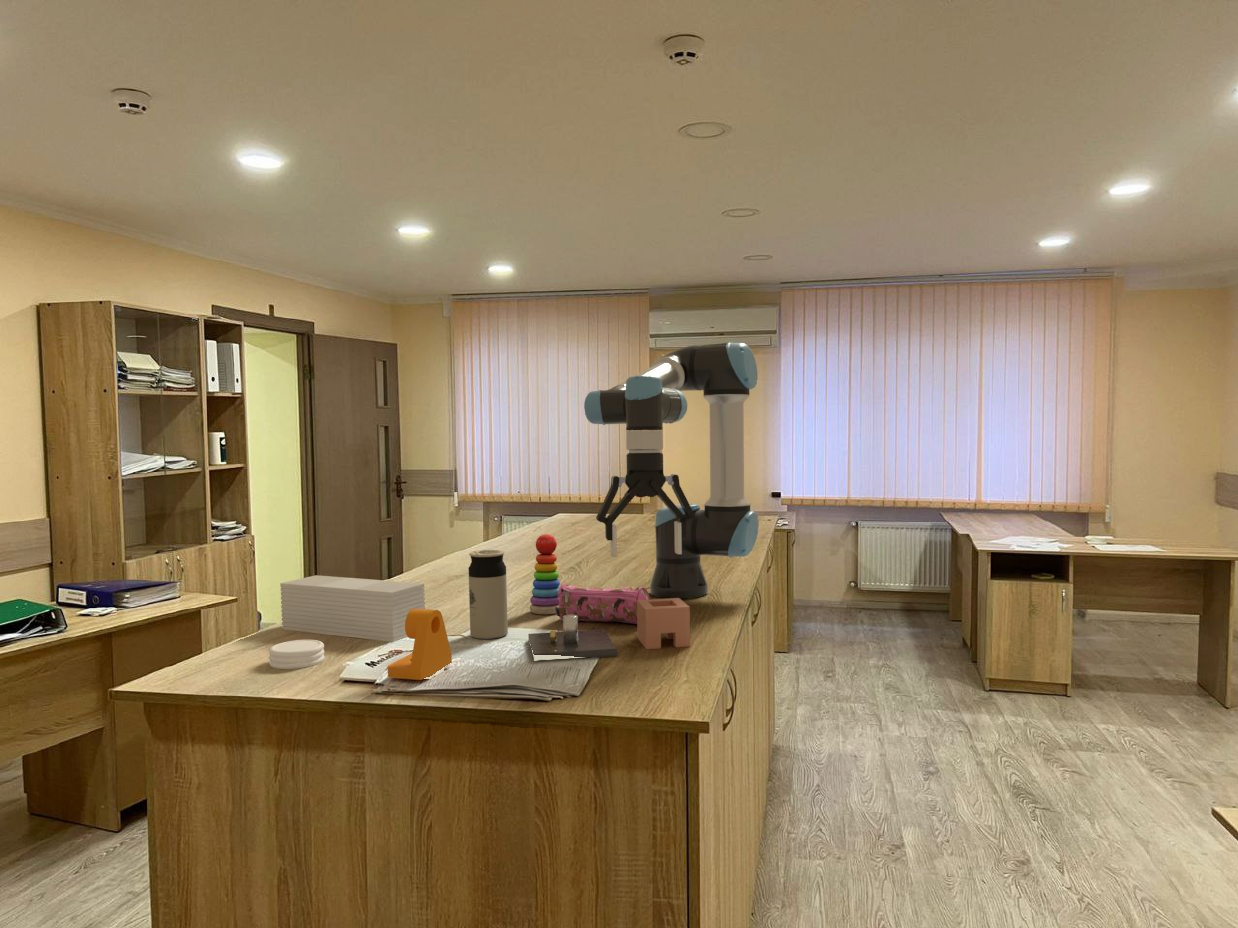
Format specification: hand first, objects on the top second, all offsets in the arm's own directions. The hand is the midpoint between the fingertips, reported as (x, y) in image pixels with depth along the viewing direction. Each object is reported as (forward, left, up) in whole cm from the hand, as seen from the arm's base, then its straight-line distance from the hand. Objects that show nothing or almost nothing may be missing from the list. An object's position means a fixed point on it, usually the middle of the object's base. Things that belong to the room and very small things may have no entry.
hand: (646, 555), depth 174 cm
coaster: (+69, -1, -18) cm, 72 cm away
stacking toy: (+18, -33, -18) cm, 42 cm away
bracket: (+45, +13, -18) cm, 50 cm away
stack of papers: (+62, -26, -18) cm, 70 cm away
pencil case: (+6, -19, -18) cm, 27 cm away
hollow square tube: (-3, +2, -18) cm, 18 cm away
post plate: (+16, +2, -18) cm, 24 cm away
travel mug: (+32, -13, -18) cm, 39 cm away
